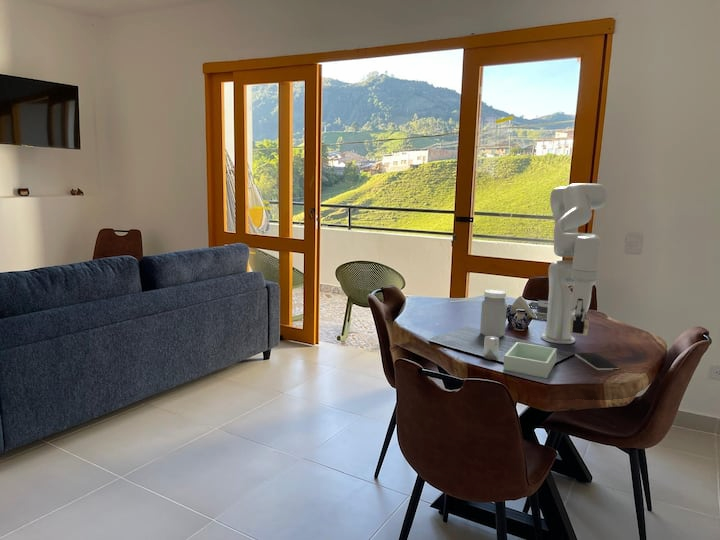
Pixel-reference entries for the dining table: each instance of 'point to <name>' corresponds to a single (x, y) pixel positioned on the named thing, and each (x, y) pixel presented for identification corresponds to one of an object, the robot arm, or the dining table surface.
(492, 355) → the aluminium cylinder
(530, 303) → the speaker stand
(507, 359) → the tote
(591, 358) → the smartphone
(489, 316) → the jar
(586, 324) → the maple cube
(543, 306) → the streaming box
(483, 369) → the dining table surface
